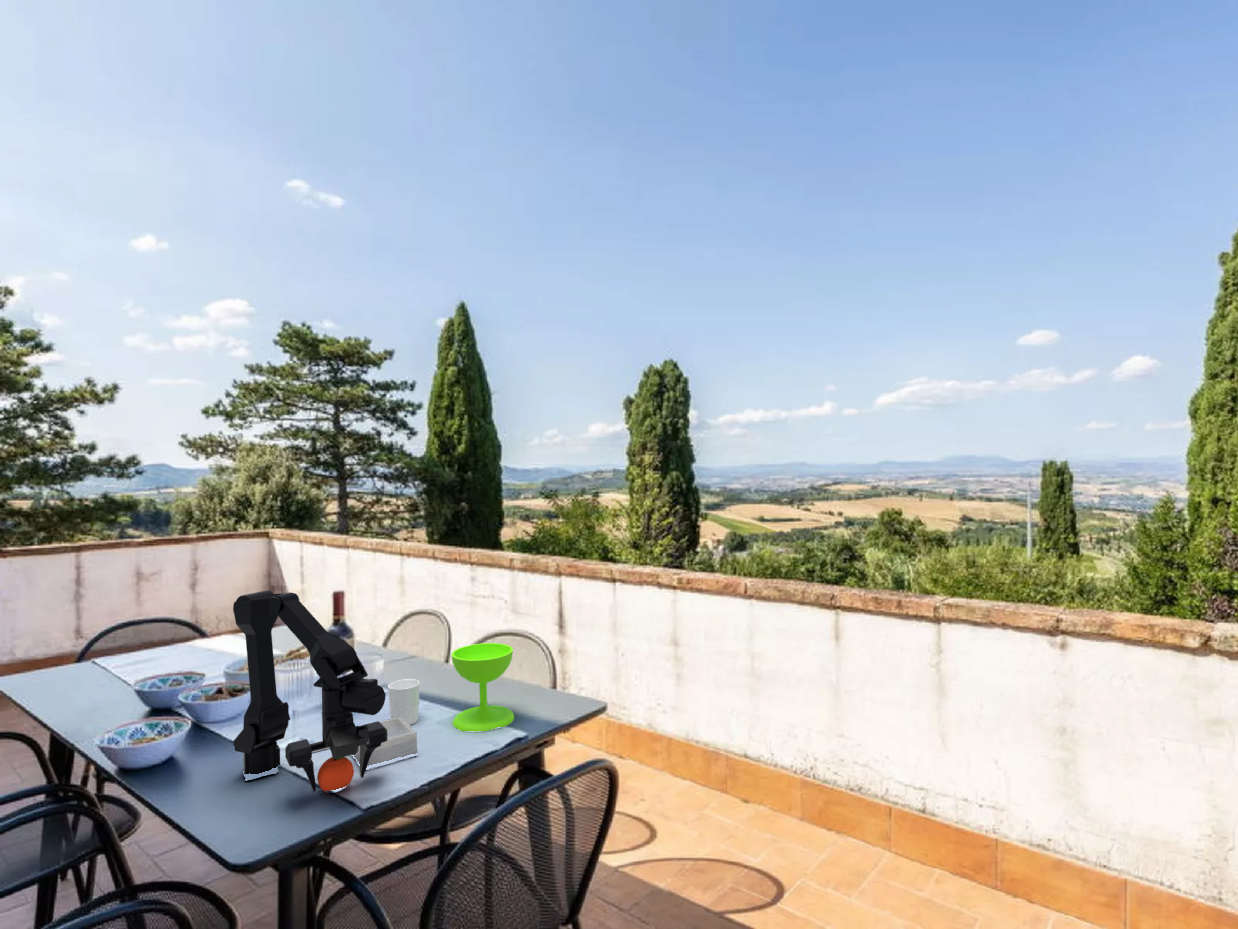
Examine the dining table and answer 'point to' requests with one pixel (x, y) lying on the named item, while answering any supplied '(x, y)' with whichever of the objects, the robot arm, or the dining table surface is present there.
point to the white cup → (404, 699)
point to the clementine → (335, 773)
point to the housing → (394, 742)
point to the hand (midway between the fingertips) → (338, 783)
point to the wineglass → (482, 684)
